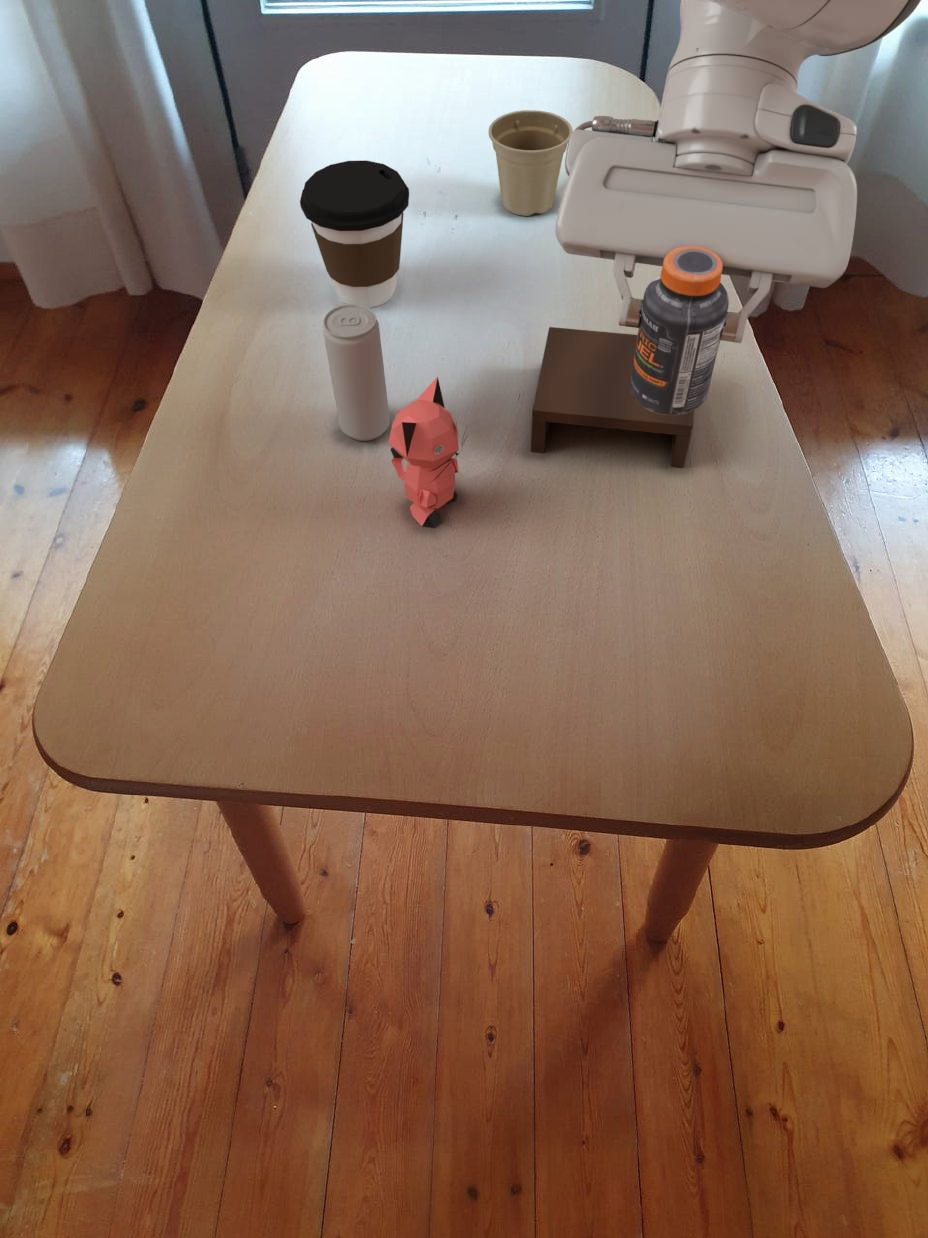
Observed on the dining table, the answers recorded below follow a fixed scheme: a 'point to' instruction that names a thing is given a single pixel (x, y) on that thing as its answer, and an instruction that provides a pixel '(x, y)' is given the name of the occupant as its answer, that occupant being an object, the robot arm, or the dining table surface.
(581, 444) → the dining table surface
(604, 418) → the shelf
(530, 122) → the flower pot
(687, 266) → the pill bottle
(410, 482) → the cat figurine
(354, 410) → the beverage can
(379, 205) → the coffee cup
